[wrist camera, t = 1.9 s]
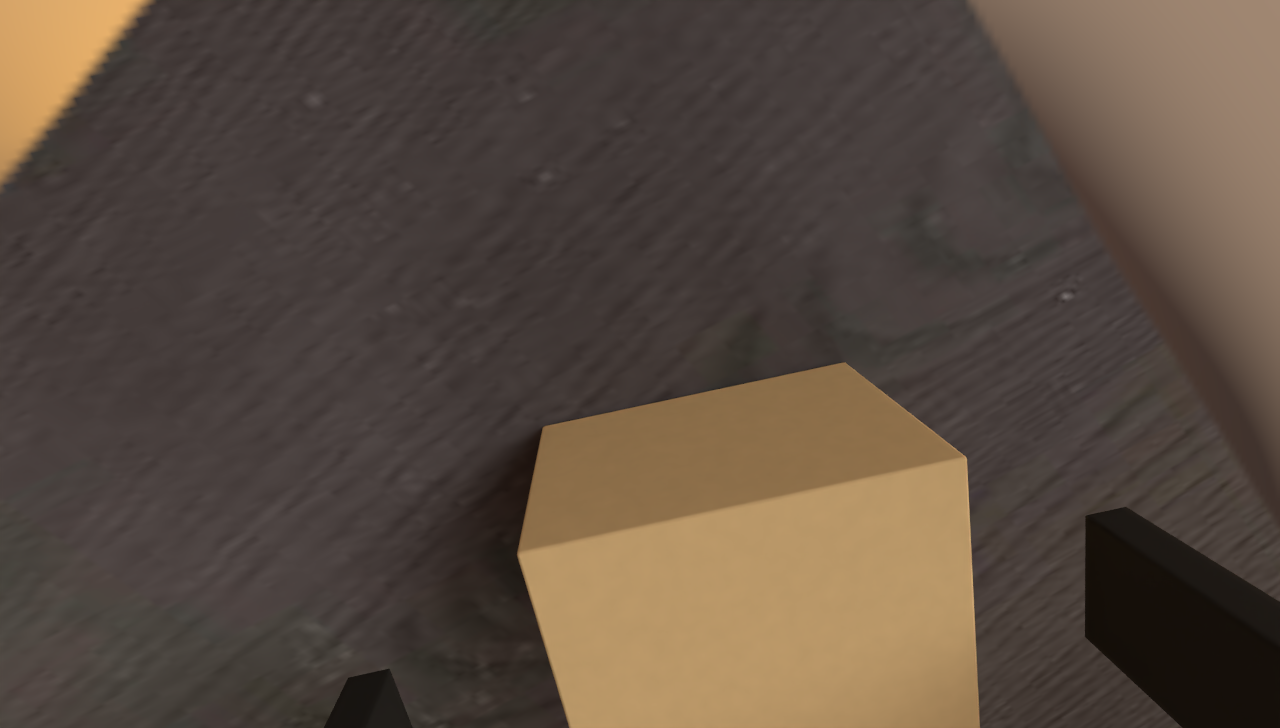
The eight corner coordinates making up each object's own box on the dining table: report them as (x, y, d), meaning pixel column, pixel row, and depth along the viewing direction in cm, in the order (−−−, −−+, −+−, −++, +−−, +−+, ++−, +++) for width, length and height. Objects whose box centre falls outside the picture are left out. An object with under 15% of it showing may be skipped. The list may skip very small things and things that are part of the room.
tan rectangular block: (542, 426, 14) (515, 554, 10) (844, 361, 14) (968, 456, 10) (607, 669, 16) (613, 874, 12) (872, 613, 17) (984, 794, 12)
